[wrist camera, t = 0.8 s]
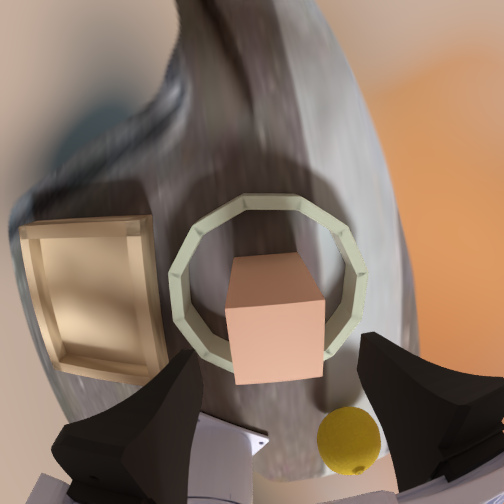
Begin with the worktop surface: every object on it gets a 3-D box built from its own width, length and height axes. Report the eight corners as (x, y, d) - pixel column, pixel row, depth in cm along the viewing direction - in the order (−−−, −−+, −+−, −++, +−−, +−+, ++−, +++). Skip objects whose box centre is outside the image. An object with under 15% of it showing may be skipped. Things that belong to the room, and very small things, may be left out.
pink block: (299, 309, 21) (322, 376, 14) (240, 314, 21) (235, 384, 14) (297, 252, 20) (325, 299, 13) (233, 257, 20) (224, 308, 13)
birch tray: (170, 369, 23) (163, 388, 20) (66, 355, 23) (54, 369, 20) (152, 214, 19) (139, 220, 17) (36, 220, 19) (18, 226, 17)
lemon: (361, 381, 23) (390, 445, 16) (368, 415, 25) (392, 473, 17) (304, 402, 24) (318, 471, 16) (317, 434, 25) (332, 495, 18)
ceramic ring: (292, 379, 23) (296, 398, 21) (152, 311, 21) (142, 327, 19) (384, 252, 20) (400, 262, 18) (233, 157, 19) (231, 155, 16)
